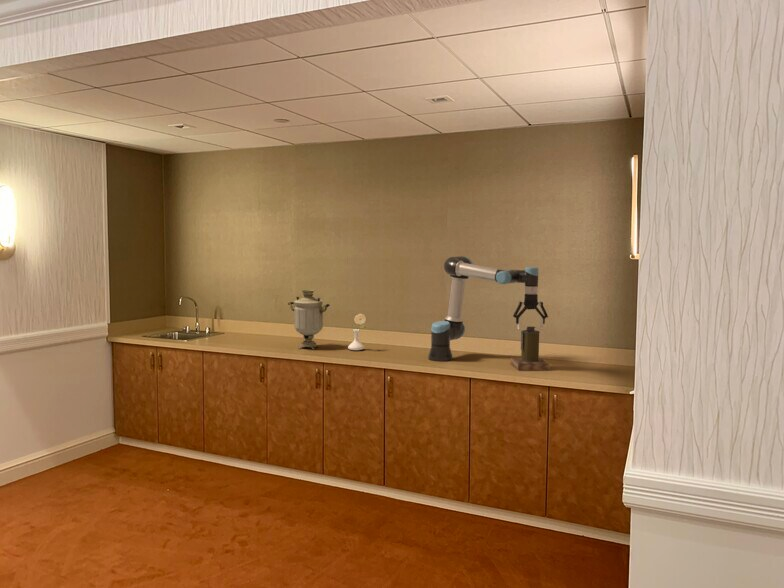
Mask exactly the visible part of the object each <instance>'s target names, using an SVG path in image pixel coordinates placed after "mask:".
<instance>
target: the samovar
mask: <svg viewBox="0 0 784 588" xmlns="http://www.w3.org/2000/svg"><path fill="white" fill-rule="evenodd" d="M301 292H302V295H303V297H301V298H300V296H296V300H293V301H290V302H288V303H287V305H288V306H290V310H291V311H292V312H294V316H293V317H294V329H295V331H296V332H297V333H299V334H300V335H302V337H303V339H304V340H303V341H302V342H301V343H300V346H299V347H298V349H299V350H301V349H302V348H311V350H316V349H315V347H319V345H318V344H317V342H315V341H314V340H313V339H314V338H315V337H314V336H315V335H317V334H318V333H320V332H321V331H322V330H323V327H324V323H323V322H324V321H323V319H324V317H323V316H324V314H323V313H326V311H327V309H328V307H330V303H327V304H324V303H323V302H324V300H322V299H321V298H320V297H317V298H316V297H314V292H315V289H302V290H301ZM323 304H324V305H323Z"/></svg>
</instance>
